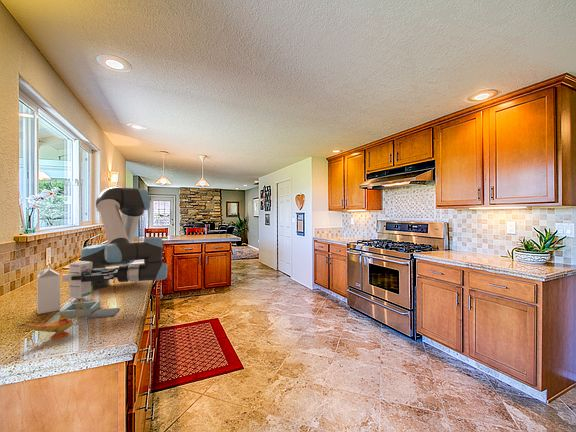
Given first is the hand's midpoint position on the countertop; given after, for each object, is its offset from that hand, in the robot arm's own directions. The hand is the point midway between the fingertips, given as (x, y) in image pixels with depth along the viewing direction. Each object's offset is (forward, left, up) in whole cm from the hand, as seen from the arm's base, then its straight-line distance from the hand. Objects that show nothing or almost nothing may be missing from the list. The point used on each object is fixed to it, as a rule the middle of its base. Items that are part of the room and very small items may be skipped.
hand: (67, 275), depth 114 cm
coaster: (+5, +15, -16) cm, 22 cm away
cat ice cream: (-20, -3, -16) cm, 26 cm away
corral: (0, +5, -16) cm, 16 cm away
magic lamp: (+25, +6, -16) cm, 30 cm away
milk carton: (-6, -9, -16) cm, 19 cm away
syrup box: (0, +5, -9) cm, 11 cm away
